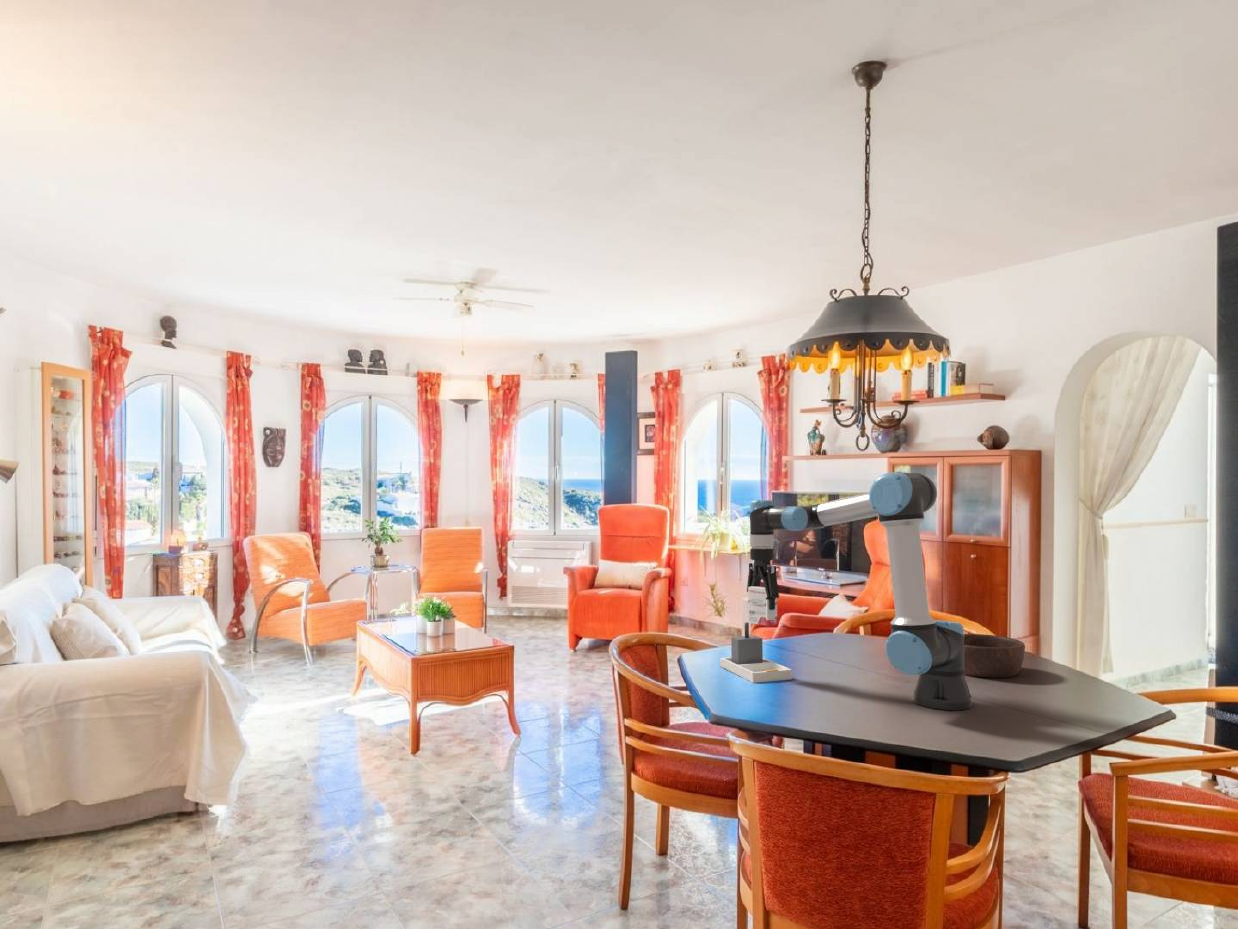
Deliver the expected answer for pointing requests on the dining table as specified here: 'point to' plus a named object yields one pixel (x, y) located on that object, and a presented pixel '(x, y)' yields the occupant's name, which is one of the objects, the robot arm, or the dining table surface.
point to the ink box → (759, 607)
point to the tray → (757, 670)
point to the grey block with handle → (746, 648)
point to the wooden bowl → (992, 656)
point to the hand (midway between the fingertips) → (762, 617)
